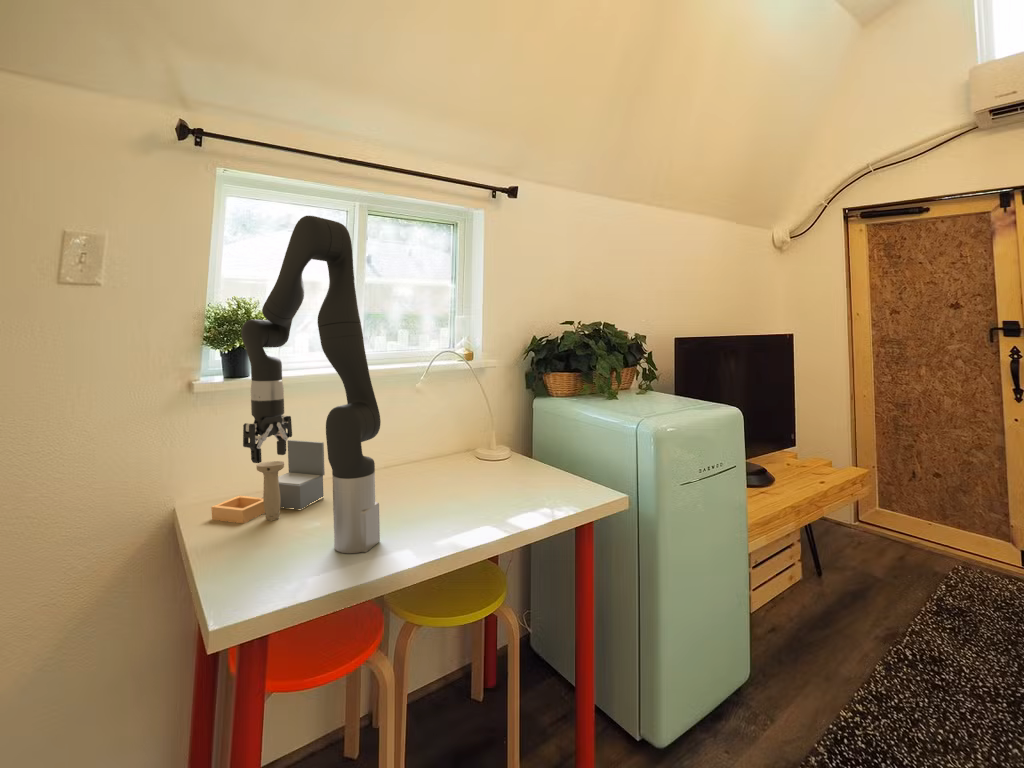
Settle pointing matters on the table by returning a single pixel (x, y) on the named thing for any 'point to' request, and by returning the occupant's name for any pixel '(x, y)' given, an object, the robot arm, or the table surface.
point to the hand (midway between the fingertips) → (269, 458)
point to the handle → (271, 488)
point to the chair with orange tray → (283, 485)
